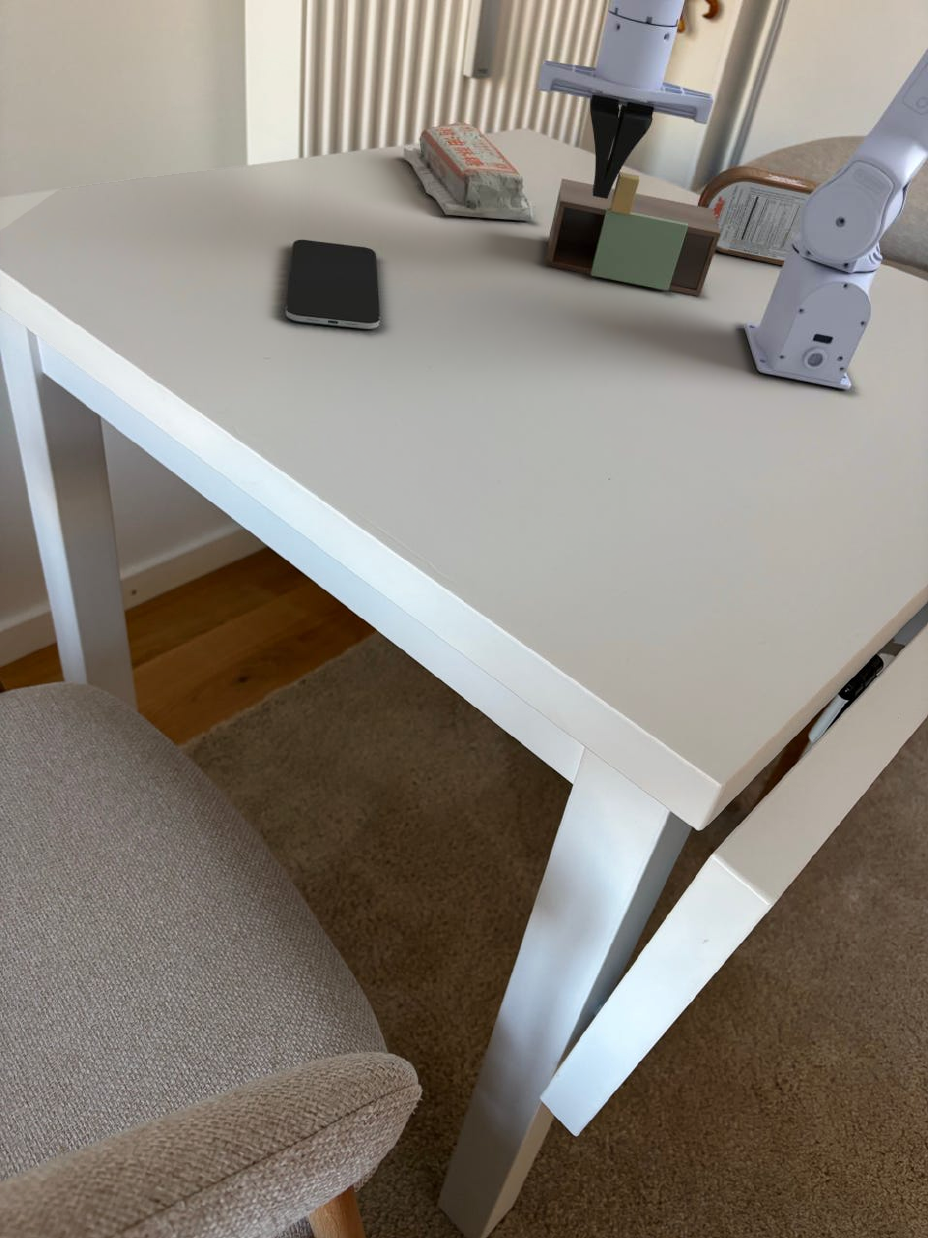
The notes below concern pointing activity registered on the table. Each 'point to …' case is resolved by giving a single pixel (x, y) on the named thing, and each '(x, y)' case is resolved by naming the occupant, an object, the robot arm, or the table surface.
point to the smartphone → (333, 285)
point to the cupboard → (585, 212)
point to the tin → (756, 211)
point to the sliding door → (636, 241)
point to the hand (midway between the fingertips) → (600, 194)
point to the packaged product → (468, 174)
